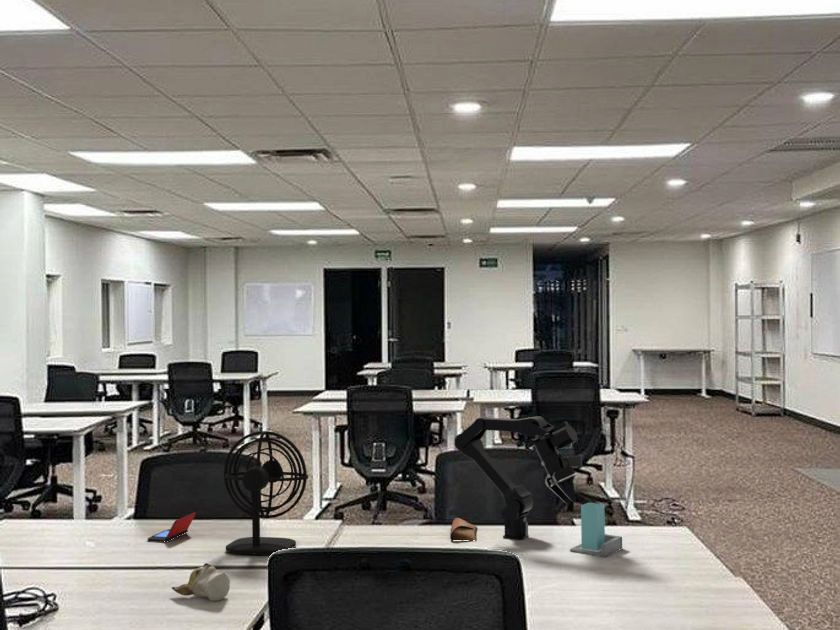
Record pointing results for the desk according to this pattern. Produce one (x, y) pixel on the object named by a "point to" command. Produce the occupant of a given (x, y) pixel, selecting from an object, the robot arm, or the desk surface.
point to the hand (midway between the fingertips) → (571, 502)
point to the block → (592, 526)
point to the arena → (602, 547)
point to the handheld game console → (174, 529)
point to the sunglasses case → (462, 530)
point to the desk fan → (257, 481)
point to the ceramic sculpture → (206, 584)
